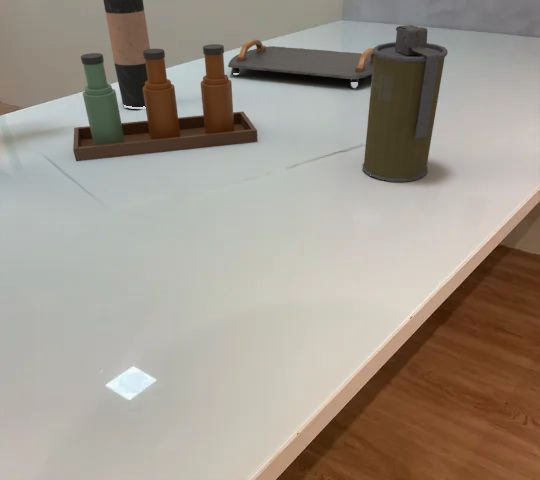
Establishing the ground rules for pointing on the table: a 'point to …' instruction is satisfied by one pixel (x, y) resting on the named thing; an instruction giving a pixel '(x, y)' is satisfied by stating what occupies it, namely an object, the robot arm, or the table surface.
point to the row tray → (142, 144)
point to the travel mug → (128, 47)
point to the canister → (403, 105)
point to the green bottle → (101, 102)
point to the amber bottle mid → (159, 97)
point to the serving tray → (304, 61)
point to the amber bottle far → (216, 92)
